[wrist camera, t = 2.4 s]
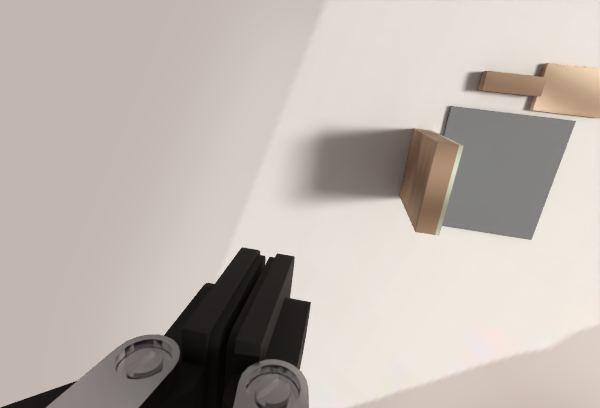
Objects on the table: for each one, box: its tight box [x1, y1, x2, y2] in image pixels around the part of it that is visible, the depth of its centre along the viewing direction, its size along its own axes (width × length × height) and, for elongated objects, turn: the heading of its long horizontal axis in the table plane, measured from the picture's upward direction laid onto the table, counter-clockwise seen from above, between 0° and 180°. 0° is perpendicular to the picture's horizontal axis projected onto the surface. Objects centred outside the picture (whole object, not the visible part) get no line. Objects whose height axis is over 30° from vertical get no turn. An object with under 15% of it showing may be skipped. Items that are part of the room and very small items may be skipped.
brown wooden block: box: [399, 129, 464, 235], centre depth 30 cm, size 7×2×10 cm, turn 173°
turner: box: [478, 63, 600, 118], centre depth 30 cm, size 4×11×1 cm, turn 83°
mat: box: [442, 106, 576, 240], centre depth 33 cm, size 12×11×1 cm
